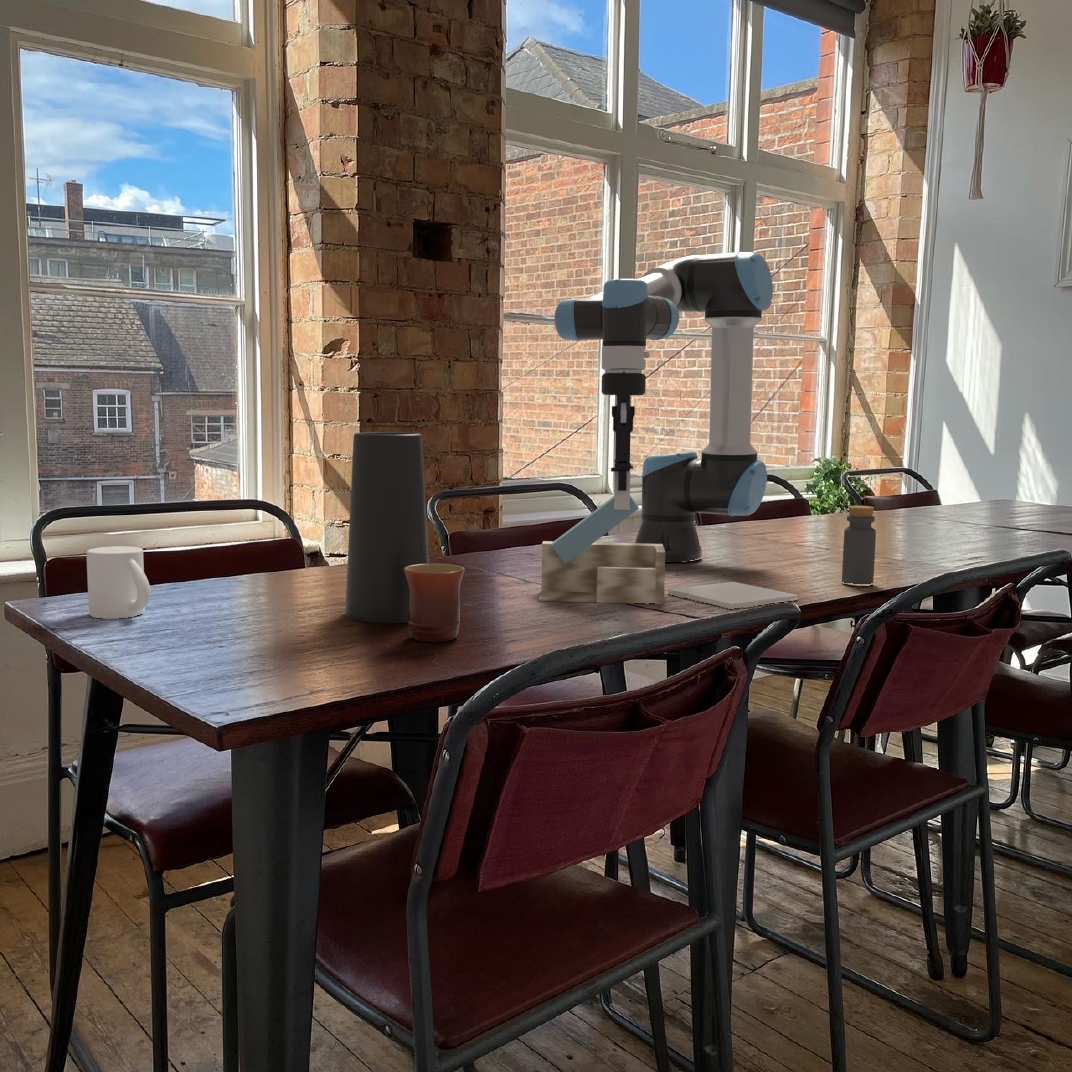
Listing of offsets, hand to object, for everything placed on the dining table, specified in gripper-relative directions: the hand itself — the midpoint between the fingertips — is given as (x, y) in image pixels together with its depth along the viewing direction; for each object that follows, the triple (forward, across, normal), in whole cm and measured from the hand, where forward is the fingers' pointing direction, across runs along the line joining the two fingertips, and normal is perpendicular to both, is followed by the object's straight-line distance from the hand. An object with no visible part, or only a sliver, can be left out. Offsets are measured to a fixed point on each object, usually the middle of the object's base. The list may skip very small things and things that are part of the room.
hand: (621, 507), depth 188 cm
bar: (+5, 0, +3) cm, 6 cm away
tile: (+16, +3, -20) cm, 26 cm away
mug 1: (+15, -26, +78) cm, 84 cm away
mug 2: (+15, -34, +27) cm, 46 cm away
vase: (+16, -20, +37) cm, 45 cm away
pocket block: (+16, 0, +3) cm, 16 cm away
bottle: (+17, +20, -46) cm, 53 cm away
